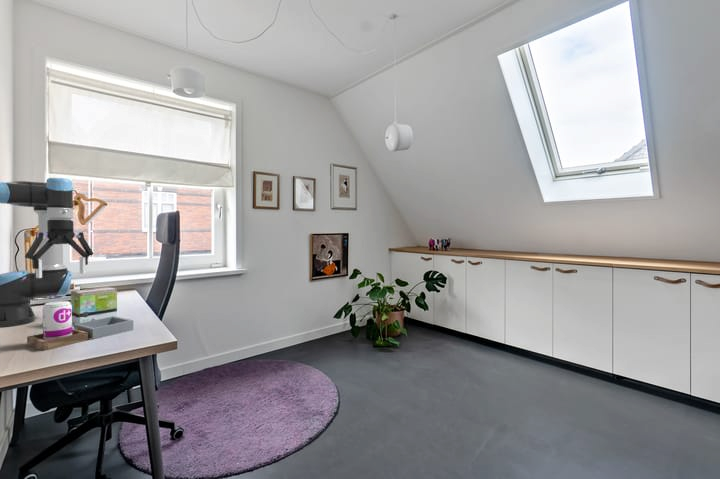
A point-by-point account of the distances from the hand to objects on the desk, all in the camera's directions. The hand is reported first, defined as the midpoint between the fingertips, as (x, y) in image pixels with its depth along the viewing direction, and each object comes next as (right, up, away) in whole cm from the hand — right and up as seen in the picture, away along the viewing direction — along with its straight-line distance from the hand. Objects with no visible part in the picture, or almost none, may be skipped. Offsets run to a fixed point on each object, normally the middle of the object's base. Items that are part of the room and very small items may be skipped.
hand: (61, 275), depth 132 cm
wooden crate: (-1, -25, -1) cm, 25 cm away
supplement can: (-1, -25, -1) cm, 25 cm away
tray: (+7, -25, +13) cm, 29 cm away
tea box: (-11, -25, +31) cm, 41 cm away
